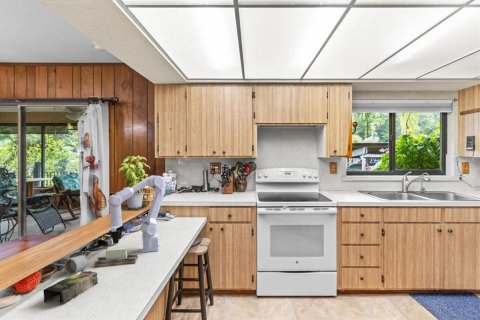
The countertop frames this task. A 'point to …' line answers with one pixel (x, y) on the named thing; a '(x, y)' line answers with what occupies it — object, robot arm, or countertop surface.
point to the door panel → (116, 253)
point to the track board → (116, 261)
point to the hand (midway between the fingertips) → (117, 241)
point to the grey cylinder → (76, 264)
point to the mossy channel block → (71, 286)
